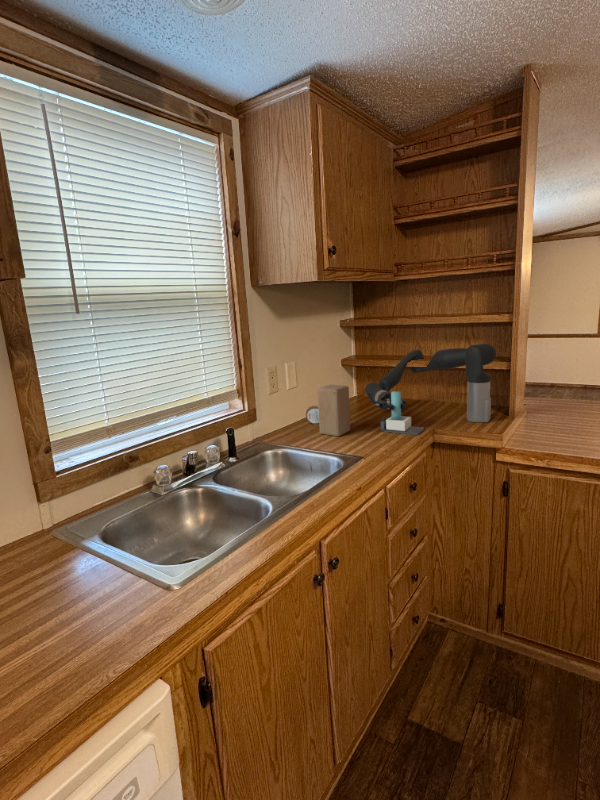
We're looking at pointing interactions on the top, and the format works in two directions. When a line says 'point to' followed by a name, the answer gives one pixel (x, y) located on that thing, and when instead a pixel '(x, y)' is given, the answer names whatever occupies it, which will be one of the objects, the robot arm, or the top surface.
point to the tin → (313, 414)
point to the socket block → (398, 423)
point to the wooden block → (334, 410)
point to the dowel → (396, 405)
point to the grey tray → (409, 431)
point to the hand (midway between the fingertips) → (398, 407)
